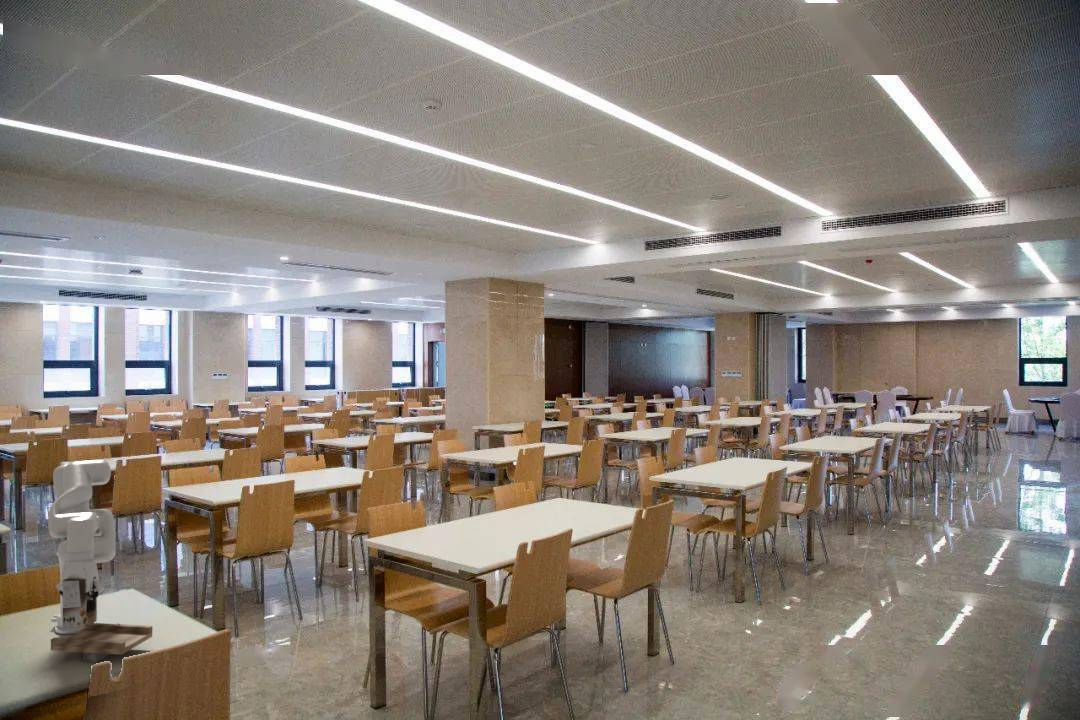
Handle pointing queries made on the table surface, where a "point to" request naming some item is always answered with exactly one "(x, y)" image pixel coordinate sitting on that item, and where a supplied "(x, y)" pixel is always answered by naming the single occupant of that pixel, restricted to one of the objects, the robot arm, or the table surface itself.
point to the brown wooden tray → (103, 640)
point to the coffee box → (76, 606)
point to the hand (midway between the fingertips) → (80, 610)
